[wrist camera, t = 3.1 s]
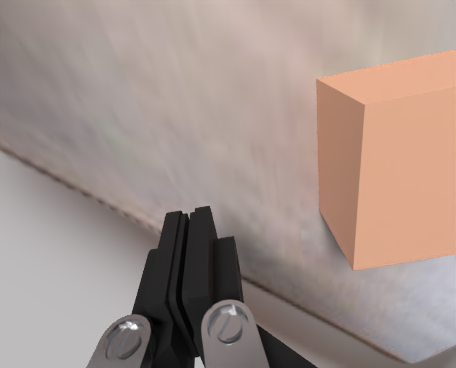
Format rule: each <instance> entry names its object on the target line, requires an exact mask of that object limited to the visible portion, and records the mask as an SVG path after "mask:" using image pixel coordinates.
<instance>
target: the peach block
mask: <svg viewBox="0 0 456 368" xmlns="http://www.w3.org/2000/svg"><path fill="white" fill-rule="evenodd" d="M316 84H317V128H318V172H319V210H320V212H321V214H322V216H323V218H324V219H325V221H326V223H327V225H328V227H329V228H330V230H331V232H332V234H333V236H334V237H335V239H336V241H337V243H338V245H339V246H340V248H341V250H342V252H343V254H344V255H345V257H346V259H347V261H348V263H349V264H350V266H351V268H352V270H353V271H355V270H361V269H367V268H373V267H380V266H386V265H392V264H398V263H404V262H410V261H417V260H423V259H429V258H435V257H441V256H447V255H453V254H456V49H454V50H449V51H445V52H440V53H435V54H430V55H426V56H421V57H416V58H412V59H407V60H402V61H397V62H393V63H388V64H383V65H379V66H374V67H369V68H364V69H360V70H355V71H350V72H346V73H341V74H336V75H331V76H327V77H322V78H317V79H316Z"/></svg>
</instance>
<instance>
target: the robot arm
mask: <svg viewBox="0 0 456 368" xmlns="http://www.w3.org/2000/svg"><path fill="white" fill-rule="evenodd" d="M199 356H200V357H201V360H202V362H203V364H204V367H205V368H317V367H316V366H315V365H313V364H312V363H310V362H309V361H308V360H306V359H305V358H303V357H302V356H301V355H299V354H298V353H296V352H295V351H293V350H292V349H291V348H289V347H288V346H286V345H285V344H284V343H282V342H281V341H280V340H278V339H277V338H275V337H273V336H272V335H271V334H270V333H268V332H267V331H265V330H264V329H263V328H261V327H260V326H258V325H257V324H256V323H255V320H254V317H253V314H252V312H251V310H250V309H249V308H248V307H247V306H246V305H245V304H244V301H243V292H242V284H241V275H240V268H239V261H238V255H237V249H236V244H235V240H234V236H232V237H226V238H220V239H218V237H217V233H216V229H215V225H214V221H213V217H212V212H211V209H210V206H205V207H199V208H195V212H192V213H190V220H189V217H188V214H187V213H186V214H183V213H182V211H175V212H169V213H166V216H165V220H164V225H163V229H162V233H161V237H160V241H159V245H158V249H152V250H150V251H149V254H148V257H147V260H146V264H145V268H144V271H143V274H142V278H141V282H140V285H139V289H138V292H137V296H136V300H135V304H134V307H133V310H132V314H131V315H127V316H125V317H122V318H120V319H118V320H117V321H116V322H114V323H113V324H112V325H111V326H110V327H109V328H108V329H107V330H106V331H105V333H104V334H103V336H102V337H101V339H100V341H99V343H98V345H97V347H96V349H95V351H94V353H93V355H92V357H91V360H90V361H89V364H88V366H87V367H86V368H194V363H195V357H199Z"/></svg>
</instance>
